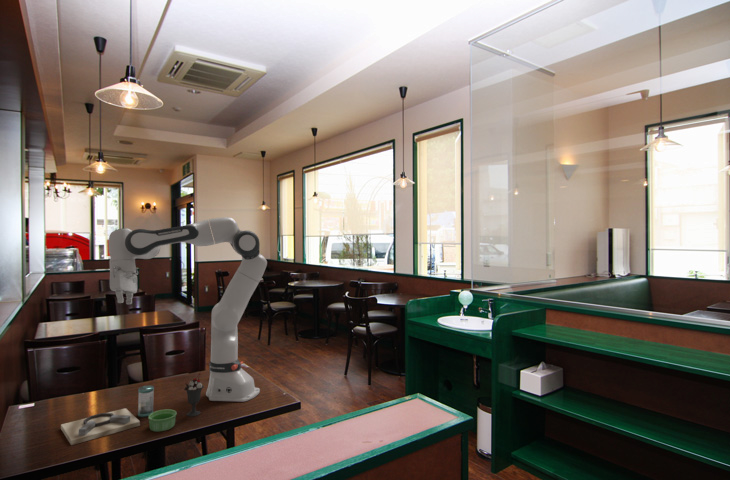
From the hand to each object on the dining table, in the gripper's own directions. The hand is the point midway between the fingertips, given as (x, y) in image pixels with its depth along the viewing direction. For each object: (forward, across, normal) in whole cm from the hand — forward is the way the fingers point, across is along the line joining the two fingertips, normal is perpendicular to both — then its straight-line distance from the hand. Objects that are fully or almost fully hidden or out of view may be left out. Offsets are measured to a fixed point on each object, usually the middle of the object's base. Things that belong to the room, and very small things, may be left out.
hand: (125, 303), depth 159 cm
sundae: (+46, -3, -22) cm, 51 cm away
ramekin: (+47, -12, -13) cm, 50 cm away
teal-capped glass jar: (+43, 0, -4) cm, 43 cm away
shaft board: (+43, -9, +8) cm, 44 cm away
